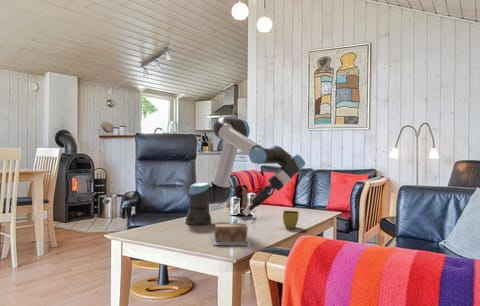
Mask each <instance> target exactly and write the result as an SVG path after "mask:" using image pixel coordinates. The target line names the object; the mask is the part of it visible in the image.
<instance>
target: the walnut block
mask: <svg viewBox="0 0 480 306" xmlns="http://www.w3.org/2000/svg"><path fill="white" fill-rule="evenodd" d="M248 228H249V227H248V225H247V224H246V223H214V236H215V241H216V242H248V237H249V235H248V234H249V233H248V230H249V229H248Z"/></svg>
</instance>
